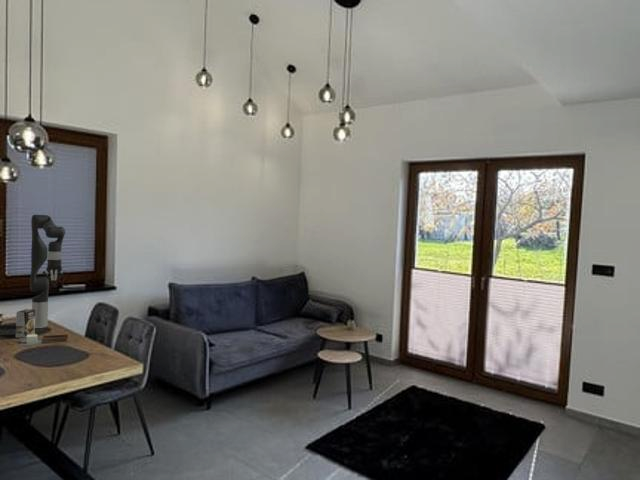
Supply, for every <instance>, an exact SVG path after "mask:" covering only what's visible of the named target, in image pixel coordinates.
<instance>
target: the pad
mask: <svg viewBox="0 0 640 480" xmlns="http://www.w3.org/2000/svg"><path fill="white" fill-rule="evenodd" d="M29 345H30V346H33V345H36V346H37V345H43V344H42V338H37V343H30V344H27V339H22V340H21V342H20V343H19V346H29Z"/></svg>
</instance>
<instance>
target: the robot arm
mask: <svg viewBox="0 0 640 480" xmlns="http://www.w3.org/2000/svg"><path fill="white" fill-rule="evenodd" d="M30 220H31V223H30V224H31V226H30V227H31V250H30V253H31V255H30V256H31V257H30V261H31V264H30V265H31V266H30V267H31V268H30V279H29V280H30V281H29V290H30V291H31V292H36V293H37V292H42V293H40V294H38V295H35V296H32V299H31V309H33V310H35V329H43V328H47V327H48V320H49V319H48V318H49V289H50V285H51V287H56V286H57V283H58V281H59V280H60V279H61V278H62V277H63V276H64V275H65V274H66V271H65V270H63V268H62V259H63V258H62V244H63V241H64V238H65V235H66V229H65V228H64V227H63V226H57V225H56V224H55V223H54V221H53V219H52V217H51V216H50V215H47V214H33V215H32V217H31V219H30ZM42 229H43V230H44V232H45V237H47V238H48V239H56V240H54V241H50V242H48V246H47V245H46V243H45V242H44V241H43V239H42V238H41V235H40V234H39V230H42ZM46 261H47V264H46V265H47V266H46V268H45V270H44V271H42V274H43V275H44V276H45V277H37V275H38V272H39V271H40V269H41V268H42V266H43V265H44V264H45V263H46ZM59 274H60V275H59ZM58 275H59V276H58Z"/></svg>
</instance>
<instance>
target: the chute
mask: <svg viewBox="0 0 640 480" xmlns="http://www.w3.org/2000/svg"><path fill="white" fill-rule="evenodd" d="M41 339H42V344H41V345H51V344H53V345H54V344H66V343H67V341H68V339H69V334H68V333H66V334H65V333H63V334H62V333H61V334H45V335H43V336H42V338H41Z"/></svg>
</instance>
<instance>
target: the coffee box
mask: <svg viewBox="0 0 640 480" xmlns="http://www.w3.org/2000/svg"><path fill="white" fill-rule="evenodd" d="M15 314H16V315H15V319H16V320H15V338H18V339H19V338H27V335H33V334H36V332H35V331H36V328H35V310H33V309H32V308H31V309H26V308H24V309H22V310H18V311H16V313H15Z"/></svg>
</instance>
